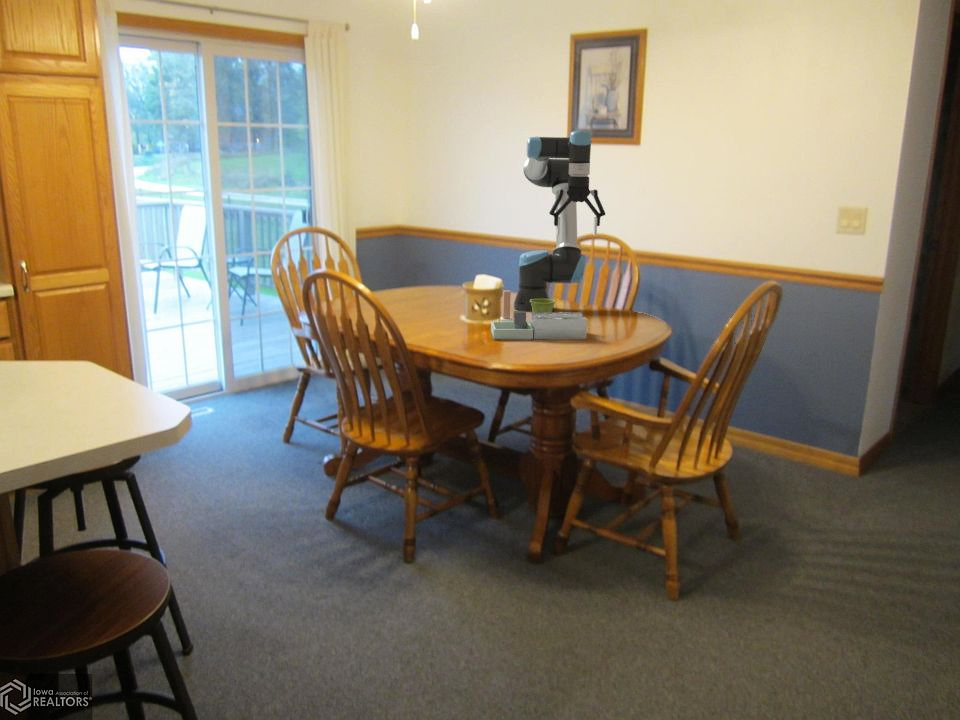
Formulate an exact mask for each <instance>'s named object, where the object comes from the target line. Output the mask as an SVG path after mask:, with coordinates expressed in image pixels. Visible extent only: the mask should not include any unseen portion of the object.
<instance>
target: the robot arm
mask: <svg viewBox="0 0 960 720" xmlns="http://www.w3.org/2000/svg"><path fill="white" fill-rule="evenodd" d="M569 136H570V137H568V136H567V137H563V136H562V137H558V136H557V137H553V136H551V137H549V136H532V137H531V136H530V137H528V138H527V140H526V156H527V158H528V159H527V160H526V161H525V162H524V164H523V174H524V176H525V178H526V179H527V180H528V182H530V183H531V184H533V185H535V186H537V187H540V188H551V192H552V194H553V195H555V201H554V204H552V207H551V208H550V211H549V213H548V214H549V215H550V216H553V225H554V226H555V231H556V232H555V234H556V235H555V237H556V239H555V240H556V243H555V245H556V247H555V248H553V250H552V254H550V253H549V251H548V250H547V249H546V250H540V249H539V250H533V251H532V250H531V251H527V252H523V253H521V254H520V256H519V263H518V269H519V270H518V290H517V293H516V296H515V299H514V301H513V309H515V310H516V311H525V312H532V306H531V302H530V300H531V299H550V296H549V293H548V284H570V285H571V284H580V283H581V282H582V280H583V277H584V273H585V268H586V259H587V258H586V255H585V254H584V253H583V254H582V249H581V248H580V247H579V246H578V215H577V213H578V212H577V211H578V210H577V203H578V202H579V203H583V202H585V204H586V205H587V206H588V207H589V209H590V210H591V212H592V213H593V214H594V215H595V216H593V224H592V225H593V231H592V235H593V236H595V237H596V236H597V231H598V227H600V225H601V217H604V216H606V212H605V209H604V207H603V204H602V202H601V200H600V198H599V192H598V190H597V189H596V188H595V189H592V190H591V189H590V177H589V175H590V169H591V150H592V149H591V146H592V133H591V132H590V131H587V130H586V131H584V130H583V131H582V130H581V131H576V130H575V131H571V132H570V134H569ZM589 195H591V196H592V197H593V199H594V201H595V204H596V206H597V208H598V210H599V211H598V210H597V209H596V207H595V206H594V204H592V202H591V201H590V199H589V198H588V196H589Z"/></svg>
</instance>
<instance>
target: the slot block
mask: <svg viewBox="0 0 960 720" xmlns="http://www.w3.org/2000/svg"><path fill="white" fill-rule="evenodd" d="M529 323H530V325H531V326H532V328H533V340H587V332H588V318H587V317H583V313H582V312H579V311H578V312H567V311H566V312H563V311H562V312H560V311H559V312H555V311H554V312H553V311H552V312H532V311H530V321H529Z"/></svg>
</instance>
